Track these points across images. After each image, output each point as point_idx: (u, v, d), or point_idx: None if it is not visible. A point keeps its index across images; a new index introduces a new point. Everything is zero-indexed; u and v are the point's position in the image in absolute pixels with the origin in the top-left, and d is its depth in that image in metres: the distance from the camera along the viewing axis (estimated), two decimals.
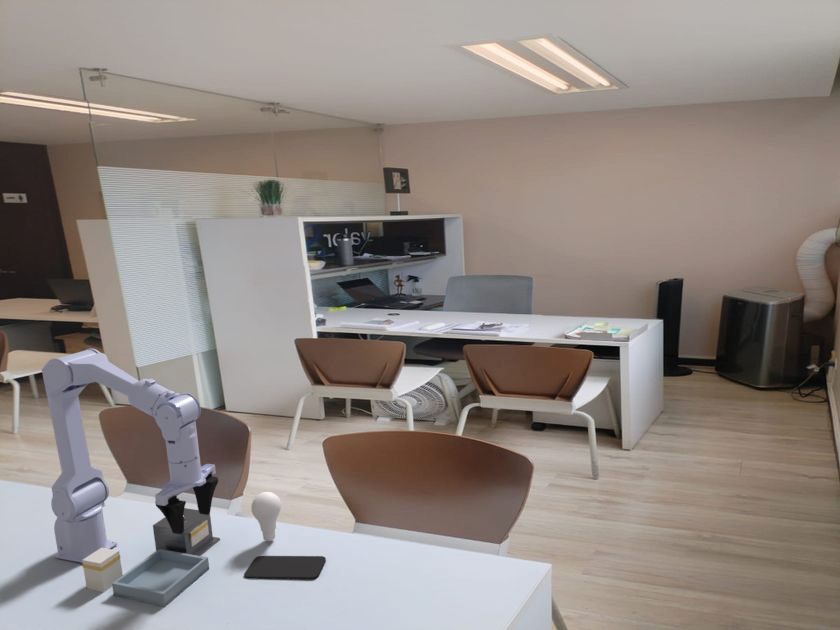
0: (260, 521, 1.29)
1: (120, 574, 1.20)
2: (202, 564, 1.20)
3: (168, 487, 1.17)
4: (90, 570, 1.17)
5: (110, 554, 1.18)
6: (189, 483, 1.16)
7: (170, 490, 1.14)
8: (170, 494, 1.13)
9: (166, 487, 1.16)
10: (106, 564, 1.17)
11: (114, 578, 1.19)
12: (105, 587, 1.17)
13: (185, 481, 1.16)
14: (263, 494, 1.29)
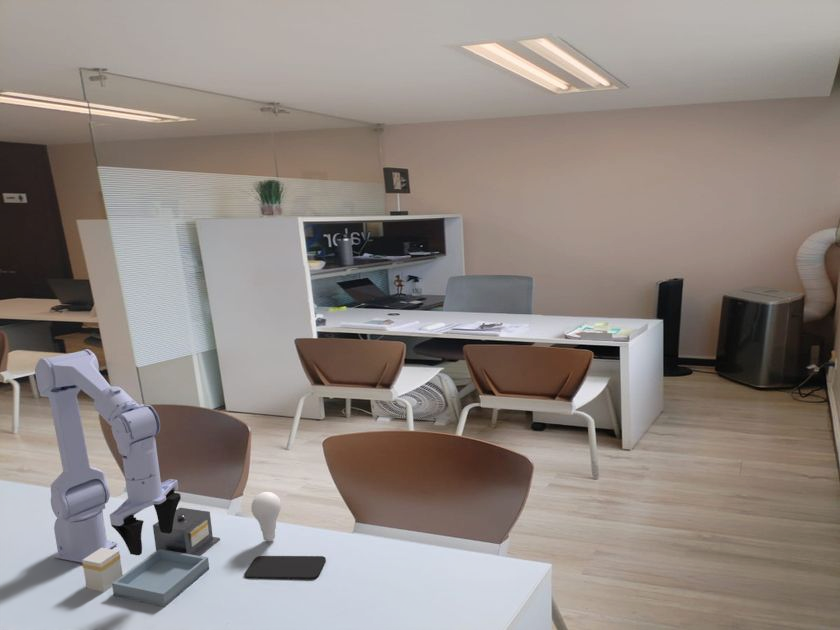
0: (260, 521, 1.29)
1: (120, 574, 1.20)
2: (202, 564, 1.20)
3: (125, 505, 1.09)
4: (90, 570, 1.17)
5: (110, 554, 1.18)
6: (147, 501, 1.09)
7: (126, 509, 1.07)
8: (126, 513, 1.06)
9: (123, 505, 1.09)
10: (106, 564, 1.17)
11: (114, 578, 1.19)
12: (105, 587, 1.17)
13: (143, 498, 1.09)
14: (263, 494, 1.29)
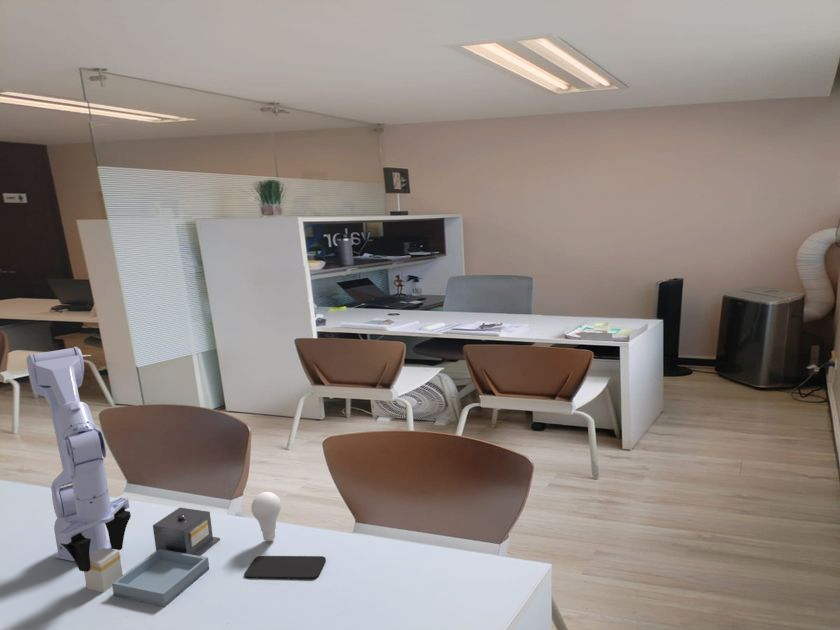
0: (260, 521, 1.29)
1: (120, 574, 1.20)
2: (202, 564, 1.20)
3: (74, 524, 1.14)
4: (90, 570, 1.17)
5: (110, 554, 1.18)
6: (95, 520, 1.14)
7: (74, 527, 1.12)
8: (73, 532, 1.11)
9: (72, 524, 1.14)
10: (106, 564, 1.17)
11: (114, 578, 1.19)
12: (105, 587, 1.17)
13: (91, 517, 1.14)
14: (263, 494, 1.29)
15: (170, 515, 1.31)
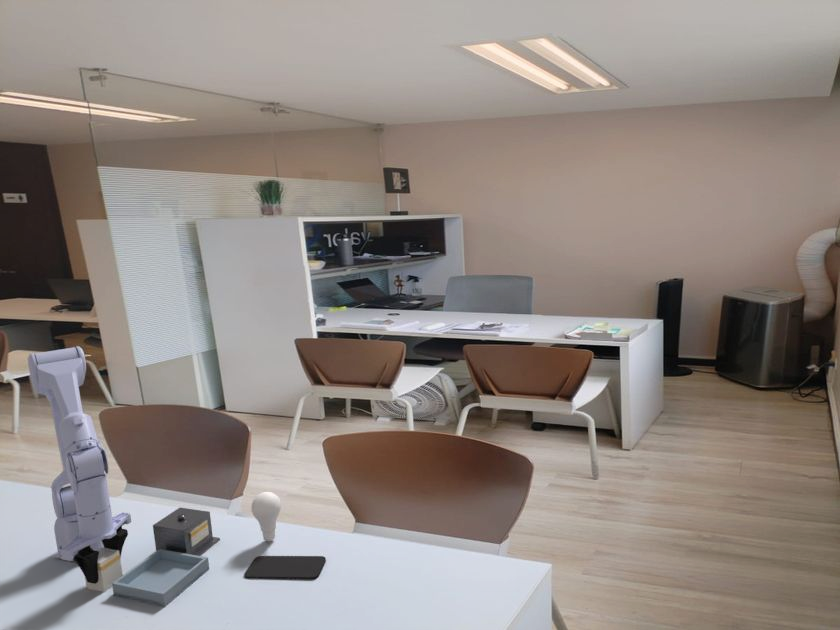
0: (260, 521, 1.29)
1: (120, 574, 1.20)
2: (202, 564, 1.20)
3: (77, 540, 1.15)
4: None
5: (110, 554, 1.18)
6: (98, 536, 1.15)
7: (77, 544, 1.13)
8: (76, 548, 1.12)
9: (74, 540, 1.15)
10: (106, 563, 1.17)
11: (114, 578, 1.19)
12: (105, 587, 1.17)
13: (94, 533, 1.15)
14: (263, 494, 1.29)
15: (170, 515, 1.31)
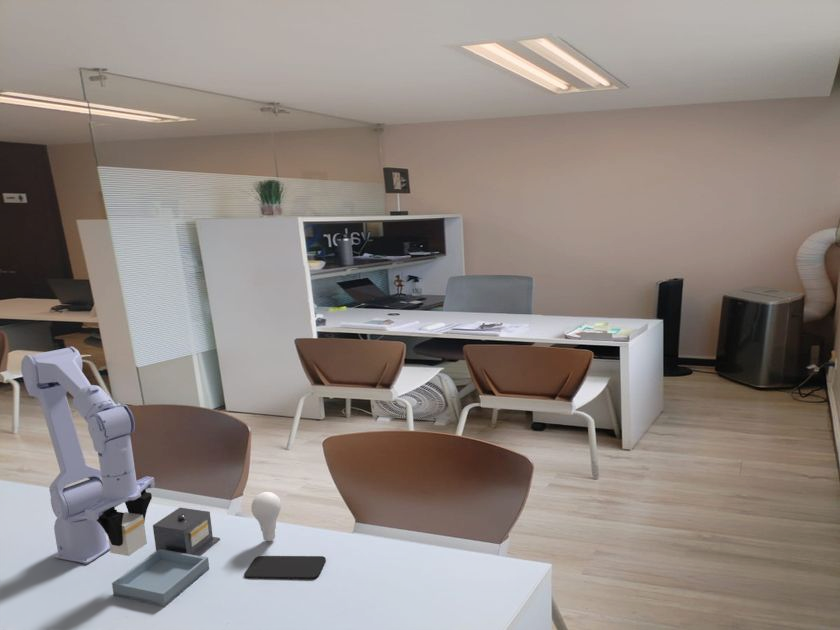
0: (260, 521, 1.29)
1: (144, 539, 1.18)
2: (202, 564, 1.20)
3: (101, 501, 1.13)
4: None
5: (134, 518, 1.17)
6: (122, 497, 1.13)
7: (102, 504, 1.11)
8: (101, 509, 1.10)
9: (99, 501, 1.13)
10: (130, 527, 1.15)
11: (138, 542, 1.17)
12: (130, 551, 1.15)
13: (118, 495, 1.13)
14: (263, 494, 1.29)
15: (170, 515, 1.31)
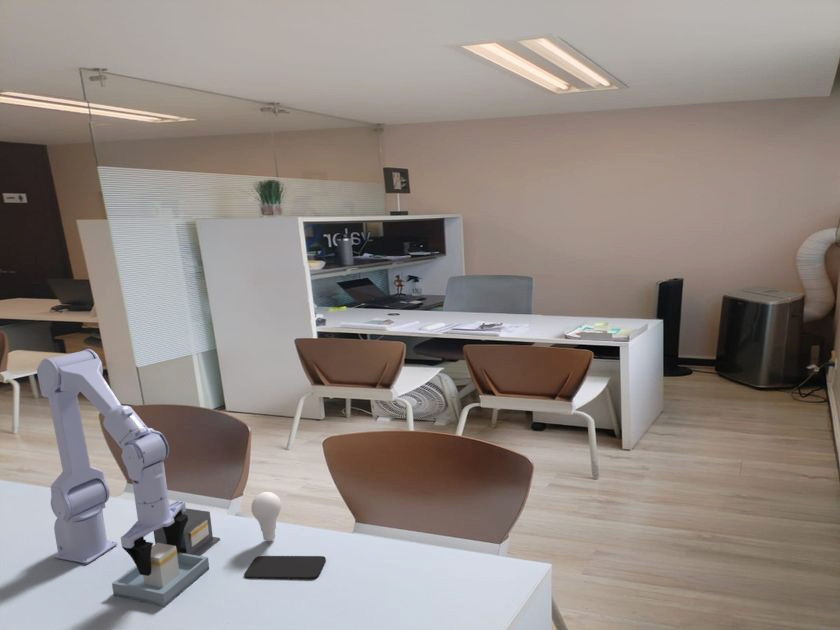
0: (260, 521, 1.29)
1: (177, 569, 1.19)
2: (202, 564, 1.20)
3: (135, 528, 1.14)
4: None
5: (167, 549, 1.18)
6: (156, 524, 1.14)
7: (136, 531, 1.12)
8: (136, 536, 1.11)
9: (133, 528, 1.14)
10: (164, 559, 1.16)
11: (171, 573, 1.18)
12: (164, 582, 1.16)
13: (152, 521, 1.14)
14: (263, 494, 1.29)
15: None
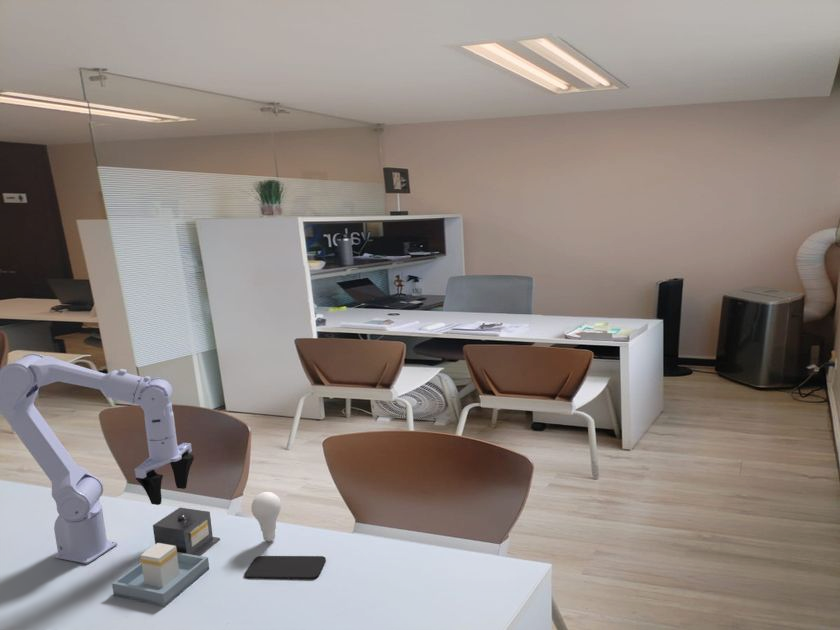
0: (260, 521, 1.29)
1: (177, 569, 1.19)
2: (202, 564, 1.20)
3: (147, 462, 1.29)
4: (148, 565, 1.16)
5: (167, 549, 1.18)
6: (166, 459, 1.28)
7: (148, 465, 1.26)
8: (148, 468, 1.25)
9: (145, 462, 1.28)
10: (164, 559, 1.16)
11: (171, 573, 1.18)
12: (164, 582, 1.16)
13: (162, 456, 1.28)
14: (263, 494, 1.29)
15: (170, 515, 1.31)
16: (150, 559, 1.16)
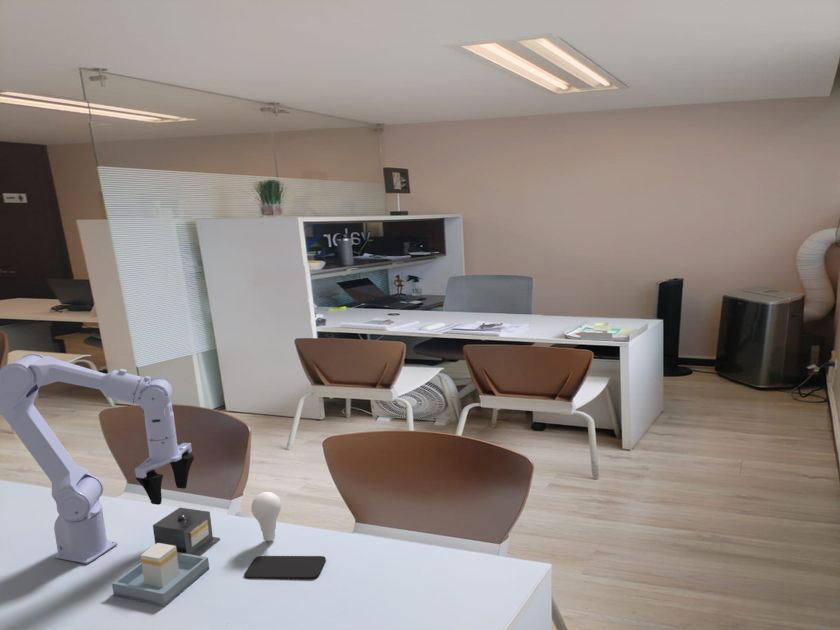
0: (260, 521, 1.29)
1: (177, 569, 1.19)
2: (202, 564, 1.20)
3: (147, 462, 1.29)
4: (148, 565, 1.16)
5: (167, 549, 1.18)
6: (166, 458, 1.29)
7: (149, 464, 1.27)
8: (148, 468, 1.25)
9: (145, 462, 1.28)
10: (164, 559, 1.16)
11: (171, 573, 1.18)
12: (164, 582, 1.16)
13: (163, 456, 1.28)
14: (263, 494, 1.29)
15: (170, 515, 1.31)
16: (150, 559, 1.16)
